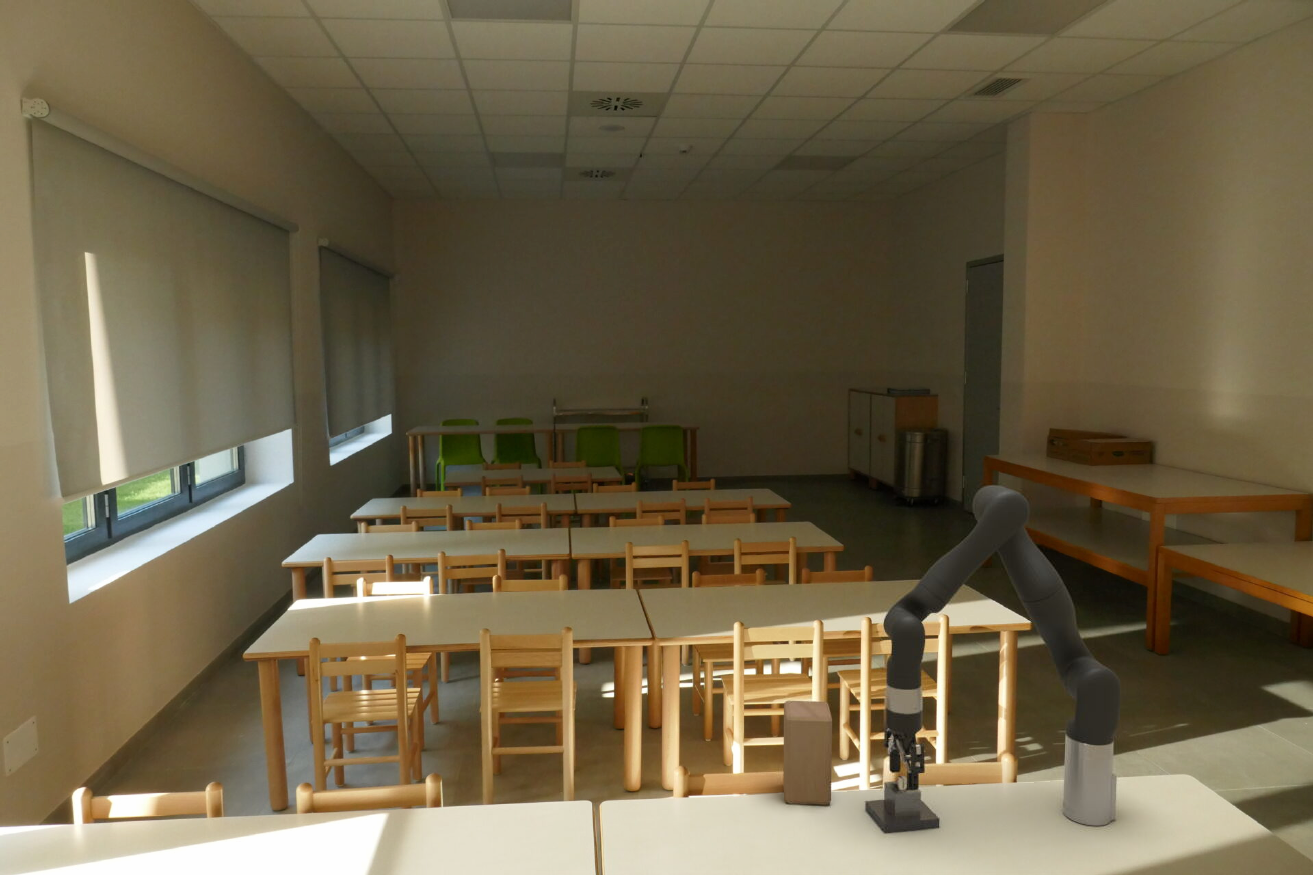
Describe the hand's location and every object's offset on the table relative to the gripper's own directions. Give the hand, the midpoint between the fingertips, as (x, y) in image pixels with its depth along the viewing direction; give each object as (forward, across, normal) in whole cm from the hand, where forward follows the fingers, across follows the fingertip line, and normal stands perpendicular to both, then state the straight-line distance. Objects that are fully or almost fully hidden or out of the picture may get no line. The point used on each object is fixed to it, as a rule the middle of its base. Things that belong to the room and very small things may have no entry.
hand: (903, 780), depth 196 cm
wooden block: (+8, +14, +16) cm, 23 cm away
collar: (+6, 0, 0) cm, 6 cm away
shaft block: (+8, 0, 0) cm, 8 cm away
